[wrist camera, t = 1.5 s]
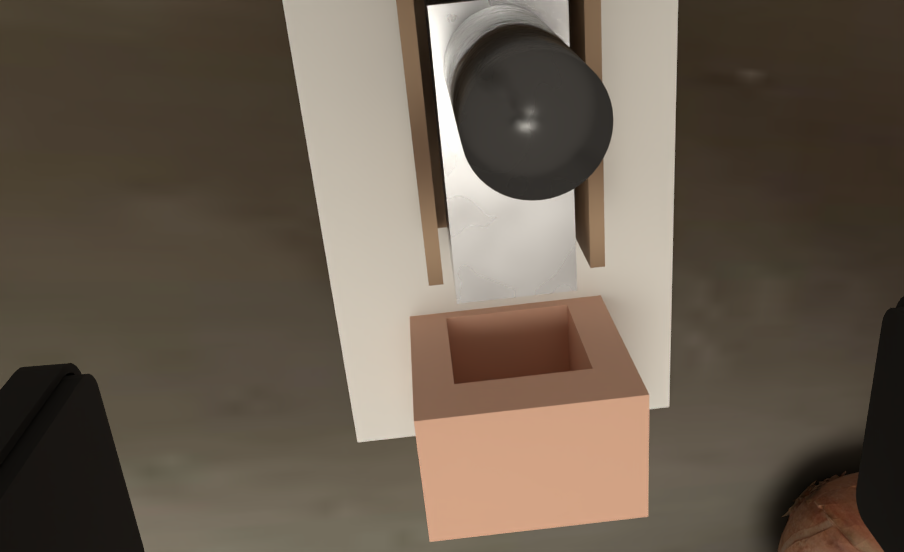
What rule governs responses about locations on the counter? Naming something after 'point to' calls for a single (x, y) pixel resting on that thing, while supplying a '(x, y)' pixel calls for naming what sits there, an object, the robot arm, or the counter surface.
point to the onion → (827, 520)
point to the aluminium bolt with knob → (512, 142)
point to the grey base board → (400, 228)
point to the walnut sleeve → (425, 138)
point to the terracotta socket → (527, 419)
